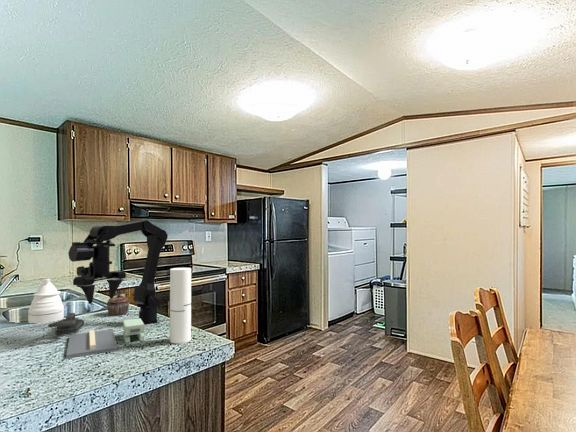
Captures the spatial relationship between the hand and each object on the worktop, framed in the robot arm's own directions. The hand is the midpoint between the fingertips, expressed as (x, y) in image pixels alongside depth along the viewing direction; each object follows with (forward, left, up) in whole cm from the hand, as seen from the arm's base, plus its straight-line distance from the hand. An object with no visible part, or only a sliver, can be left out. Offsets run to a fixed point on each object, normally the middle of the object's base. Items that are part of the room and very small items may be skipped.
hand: (101, 300), depth 131 cm
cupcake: (-8, -33, -13) cm, 36 cm away
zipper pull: (+11, -10, -13) cm, 19 cm away
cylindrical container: (-24, +22, -13) cm, 35 cm away
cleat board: (+3, +10, -13) cm, 16 cm away
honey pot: (+20, -38, -13) cm, 45 cm away
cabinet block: (-10, +10, -13) cm, 19 cm away
